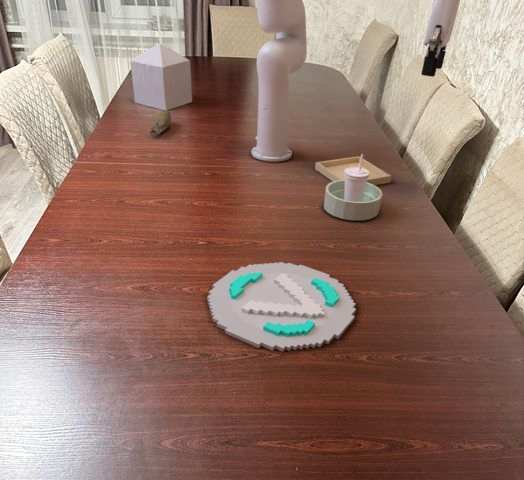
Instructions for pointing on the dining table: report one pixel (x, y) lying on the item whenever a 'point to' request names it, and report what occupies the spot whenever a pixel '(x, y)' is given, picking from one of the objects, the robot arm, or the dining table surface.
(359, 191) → the smoothie
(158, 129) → the decorative bird model
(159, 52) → the decorative block
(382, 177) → the tray
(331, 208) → the bowl
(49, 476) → the dining table surface
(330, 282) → the grey pixelated disc
